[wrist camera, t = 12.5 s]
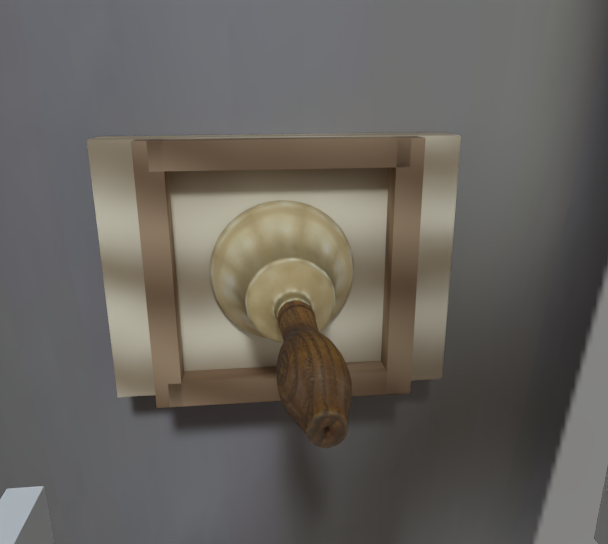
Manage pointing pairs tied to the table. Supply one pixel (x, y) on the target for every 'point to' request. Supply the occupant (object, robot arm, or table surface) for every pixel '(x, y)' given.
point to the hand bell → (291, 304)
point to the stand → (236, 199)
